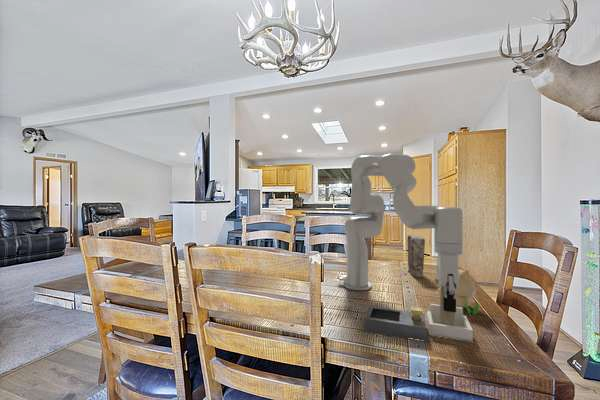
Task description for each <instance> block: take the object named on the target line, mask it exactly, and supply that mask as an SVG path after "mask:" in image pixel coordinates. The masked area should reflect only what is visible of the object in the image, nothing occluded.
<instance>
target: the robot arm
mask: <svg viewBox="0 0 600 400" xmlns="http://www.w3.org/2000/svg"><path fill="white" fill-rule="evenodd" d="M350 168H351V169H350V172H351V173H350V175H351V191H350V201H349V209H350V211H351V213H352V214H354V215H359V216H355V217H350V218H348V219H346V221H345V222H344V225H343V226H344V233H345V239H346V240H345V241H346V275H340V274H338V275H337V280H339V281H340V282H342V281H343V287H344V288H346V289H348V290H353V291H367V290H370V289H372V288H373V287H372V283H371V282H370V281H369V247H368V244H367V242H366V240H365V238H375V237H378V236H380V234H381V233H382V229H383V224H384V216H385V214H384V213H385V201H384V198H383V197H382V196H381V195H380V194H377V193H372V192H371V191H372V182H371V179H370V178H369V177H370V176H371V177H384V178H385V180H386V182H387V183H388V184H389V186H390V188H391V189H392V191H393V192H394V193H393V196H392V203H393V208H394V211H395V214H396V215H397V216H398V218H399V220H400V221H401V223H402V224H403V225H405V226H406V227H407V228H409V229H411V230H425V229H427V230H428V229H431V230H432V229H433V230H434V234H433V235H434V236H433V237H434V246H433V247H434V248H433V249H434V253H437V258H436V259H437V262H436V263H437V264H436V266H437V267H436V277H438V284H437V285H438V286H439V288H440V287H442V286H443V287H444V294H445V297H443V309H444V311H448V312H456V307H457V306H456V294H455V289H457V288H458V281H459V267H460V266H459V263H460V261H459V256H460V255H463V251H464V249H463V244H464V243H463V242H464V240H463V236H464V235H463V227H464V225H463V224H464V222H463V219H464V216H463V215H464V214H463V210H462V209H461V208H460V207H458V206H457V207H456V206H438V205H415V204H414V202H413V201H412V199H411V198H410V197H409V195H408V194H409V193H410V192H412V191H413V190H414V189H415V187H416V186H417V182H418V181H417V179H416V177H415V176H414V175H413V173H414V172H415V170H416V162H415V160H414V158H413V157H411V156H410V155H408V154H402V153H388V154H384V155H381V156H379V155H360V156H357V157H356V158H355V159H354V160H353V162H352V164H351V167H350ZM360 215H363V216H360ZM364 215H367V216H364ZM446 285H448V286H449V287H446ZM447 289H449V291H447Z"/></svg>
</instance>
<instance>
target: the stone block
mask: <svg viewBox="0 0 600 400" xmlns="http://www.w3.org/2000/svg"><path fill="white" fill-rule="evenodd" d="M406 243H407V245H406V246H407V266H408V273H409V274H410V275H412V276H413V277H416V278H423V275H424V265H425V263H424V262H425V248H426V247H425V245H426V244H425V243H426V239H425V238H424V237H421V236H420V235H413V234H412V235H411V234H408V235H407V242H406Z"/></svg>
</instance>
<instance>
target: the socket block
mask: <svg viewBox="0 0 600 400" xmlns="http://www.w3.org/2000/svg"><path fill="white" fill-rule="evenodd" d="M363 320H364V321H363V327H364V328H363V331H364V332H366V333H371V334H377V335H382V336H388V337H393V338H399V339H400V338H401V339H406V340H409V339H408V338H413V339H419V340H425V341H427V342H428V340H427V339H428V338H427V333H428V330H427V328H428V326H427V321H426V314H425V313H424V312H422V315H421V314H420V321H415V320H413V313H411V310H404V309H401V310H400V309H395V308H389V307H380V306H373V305H368V307H367V310H366V313H365V315H364V318H363Z"/></svg>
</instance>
